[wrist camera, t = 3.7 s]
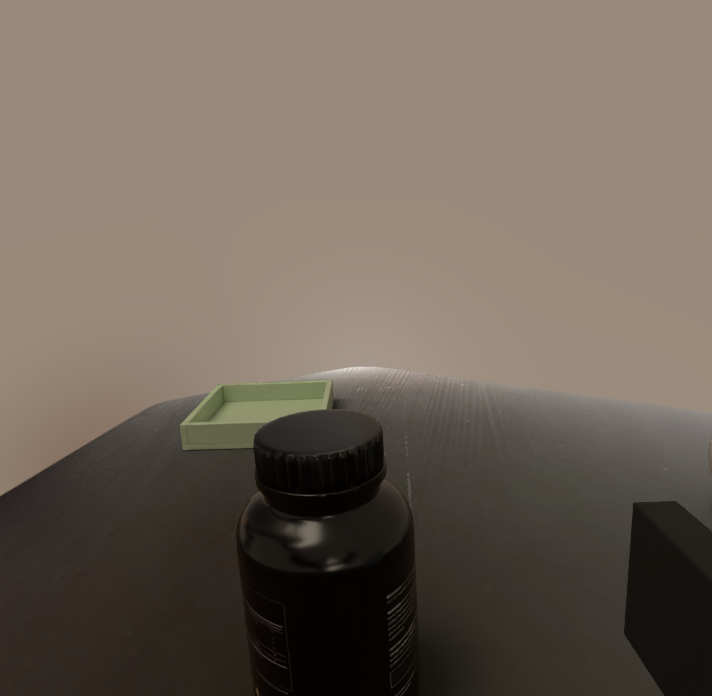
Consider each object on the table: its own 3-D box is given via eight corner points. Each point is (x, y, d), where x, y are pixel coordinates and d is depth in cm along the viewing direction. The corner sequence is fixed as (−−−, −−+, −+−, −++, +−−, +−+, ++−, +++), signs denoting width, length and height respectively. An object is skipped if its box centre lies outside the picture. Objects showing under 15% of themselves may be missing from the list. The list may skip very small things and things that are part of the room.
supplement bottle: (361, 617, 27) (351, 389, 24) (454, 716, 21) (454, 433, 19) (230, 681, 23) (201, 422, 21) (300, 822, 18) (273, 489, 15)
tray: (182, 450, 49) (179, 424, 48) (220, 404, 62) (218, 384, 61) (325, 445, 48) (324, 420, 48) (333, 400, 61) (332, 380, 61)
